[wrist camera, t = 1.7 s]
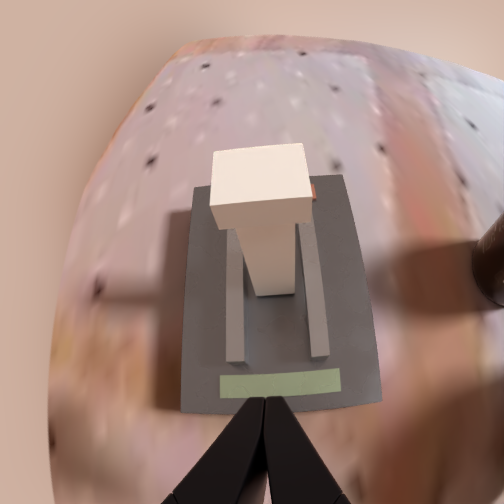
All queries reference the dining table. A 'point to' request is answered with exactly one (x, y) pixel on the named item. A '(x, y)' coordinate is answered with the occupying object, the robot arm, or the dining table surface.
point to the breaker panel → (279, 316)
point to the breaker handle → (263, 208)
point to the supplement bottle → (491, 262)
